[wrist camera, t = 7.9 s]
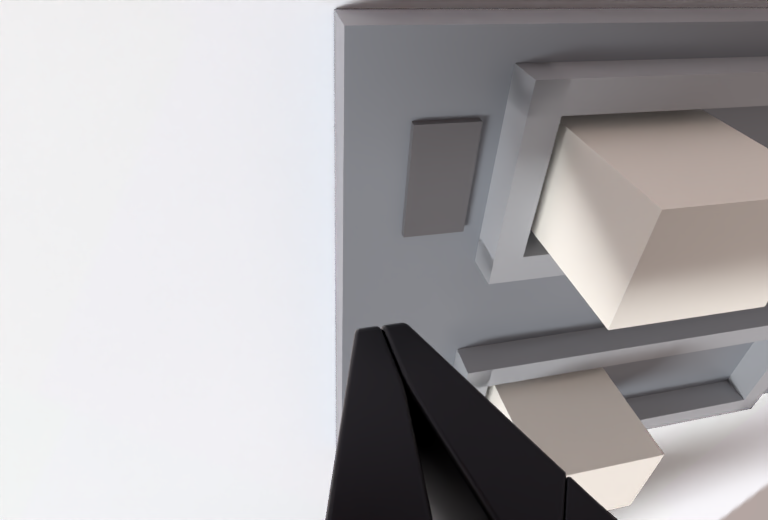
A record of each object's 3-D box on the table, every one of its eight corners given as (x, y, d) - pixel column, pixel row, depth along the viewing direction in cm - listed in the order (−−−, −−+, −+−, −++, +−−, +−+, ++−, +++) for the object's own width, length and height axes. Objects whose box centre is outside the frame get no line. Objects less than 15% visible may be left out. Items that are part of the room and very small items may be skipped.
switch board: (772, 367, 25) (810, 405, 24) (336, 447, 21) (346, 500, 19) (1048, 6, 16) (1148, 28, 14) (334, 9, 11) (354, 41, 9)
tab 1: (655, 210, 15) (764, 306, 12) (525, 223, 14) (607, 330, 11) (699, 108, 13) (842, 191, 10) (553, 115, 12) (662, 209, 9)
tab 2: (570, 406, 21) (630, 505, 18) (473, 423, 20) (519, 531, 17) (592, 353, 19) (664, 454, 16) (487, 370, 18) (541, 481, 15)
